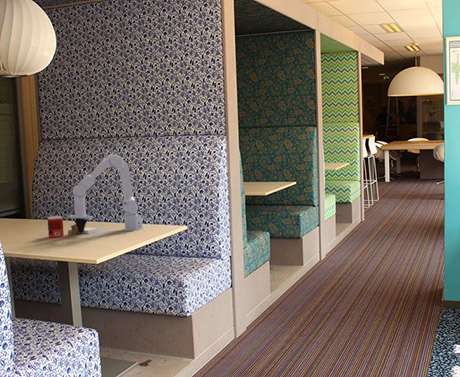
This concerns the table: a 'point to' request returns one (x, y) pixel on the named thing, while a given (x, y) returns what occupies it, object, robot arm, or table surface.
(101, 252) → the table surface
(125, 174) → the robot arm
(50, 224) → the canned food
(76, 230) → the block
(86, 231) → the tile
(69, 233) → the rail
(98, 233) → the mat
